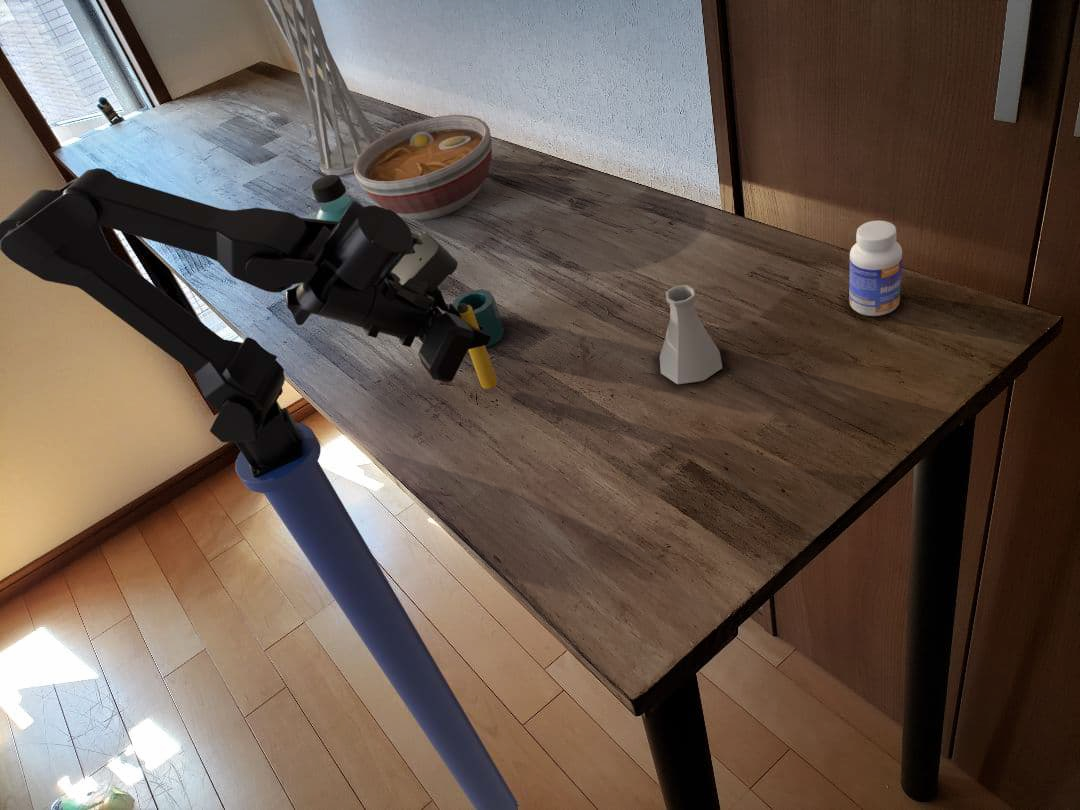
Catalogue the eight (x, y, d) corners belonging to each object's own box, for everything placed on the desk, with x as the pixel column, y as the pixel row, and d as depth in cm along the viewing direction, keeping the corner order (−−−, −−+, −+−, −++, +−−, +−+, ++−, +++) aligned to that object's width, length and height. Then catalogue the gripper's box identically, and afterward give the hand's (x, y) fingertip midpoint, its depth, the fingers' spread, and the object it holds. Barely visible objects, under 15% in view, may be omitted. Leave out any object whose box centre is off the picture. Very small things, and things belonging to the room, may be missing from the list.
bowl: (465, 155, 153) (449, 103, 146) (530, 191, 136) (515, 134, 130) (354, 211, 146) (332, 158, 140) (409, 255, 130) (386, 198, 124)
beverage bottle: (410, 293, 122) (359, 168, 109) (381, 321, 118) (325, 195, 105) (377, 287, 125) (324, 165, 112) (349, 314, 121) (291, 191, 108)
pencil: (484, 391, 99) (455, 311, 92) (479, 382, 101) (450, 303, 93) (500, 384, 100) (472, 304, 92) (494, 375, 101) (466, 296, 94)
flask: (673, 393, 93) (661, 322, 87) (649, 357, 99) (636, 288, 92) (733, 371, 93) (726, 299, 87) (706, 336, 99) (698, 266, 92)
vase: (393, 136, 167) (324, -53, 144) (377, 168, 157) (300, -30, 135) (331, 148, 170) (254, -36, 148) (311, 180, 161) (226, -12, 138)
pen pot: (472, 354, 107) (459, 320, 104) (458, 334, 111) (446, 300, 108) (509, 337, 108) (498, 303, 104) (495, 317, 112) (484, 284, 108)
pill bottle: (886, 322, 94) (890, 248, 87) (840, 310, 97) (841, 238, 91) (907, 295, 96) (912, 221, 90) (862, 285, 99) (863, 213, 93)
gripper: (425, 265, 77) (554, 309, 87) (366, 198, 91) (483, 242, 101) (378, 367, 81) (507, 399, 90) (328, 288, 95) (444, 323, 104)
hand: (484, 335), depth 96 cm, fingers closed on pencil, 2 cm apart
